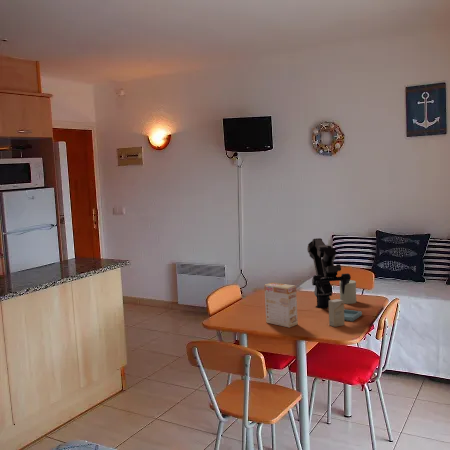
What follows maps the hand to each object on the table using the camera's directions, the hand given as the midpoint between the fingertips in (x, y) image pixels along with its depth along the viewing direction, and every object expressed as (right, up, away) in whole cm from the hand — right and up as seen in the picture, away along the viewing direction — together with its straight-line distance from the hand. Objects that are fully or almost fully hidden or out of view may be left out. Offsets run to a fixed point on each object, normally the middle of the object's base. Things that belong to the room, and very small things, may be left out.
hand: (334, 294), depth 254 cm
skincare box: (0, -14, -7) cm, 16 cm away
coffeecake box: (-26, -15, 0) cm, 30 cm away
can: (+15, -9, +34) cm, 39 cm away
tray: (+7, -12, +6) cm, 15 cm away
